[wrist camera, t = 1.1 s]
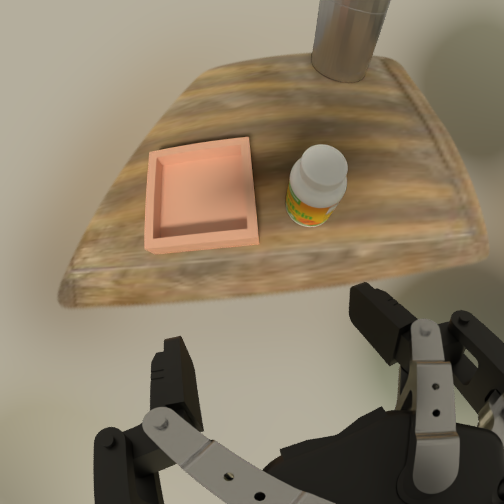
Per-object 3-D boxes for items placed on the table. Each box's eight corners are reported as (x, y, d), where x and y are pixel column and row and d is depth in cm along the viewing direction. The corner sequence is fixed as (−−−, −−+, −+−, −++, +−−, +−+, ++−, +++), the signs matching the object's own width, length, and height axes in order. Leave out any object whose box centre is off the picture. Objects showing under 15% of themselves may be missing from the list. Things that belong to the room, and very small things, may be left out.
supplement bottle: (275, 206, 30) (278, 163, 21) (305, 175, 31) (318, 127, 22) (311, 237, 30) (331, 206, 20) (340, 205, 30) (367, 164, 21)
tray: (158, 163, 32) (149, 152, 30) (250, 150, 32) (248, 136, 29) (155, 254, 30) (144, 248, 27) (259, 244, 30) (258, 237, 27)
